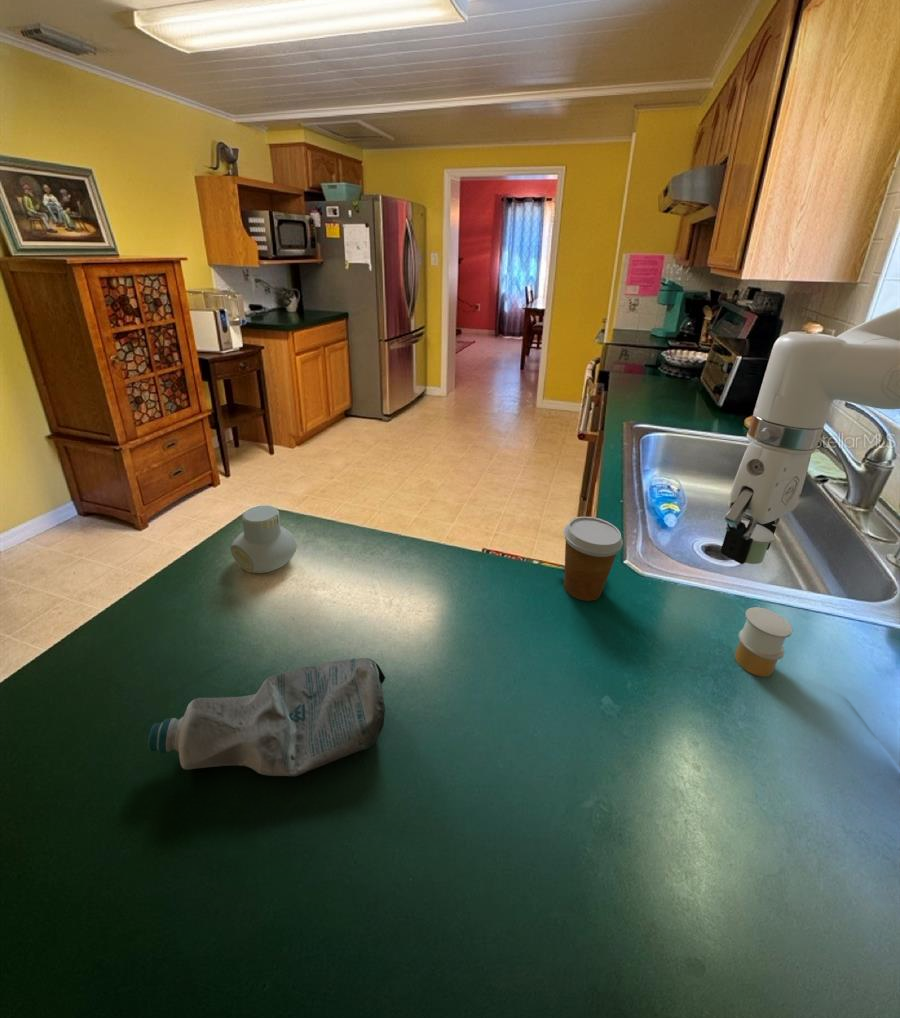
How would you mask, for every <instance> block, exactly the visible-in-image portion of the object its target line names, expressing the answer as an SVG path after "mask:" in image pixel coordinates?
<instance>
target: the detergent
mask: <svg viewBox="0 0 900 1018" xmlns="http://www.w3.org/2000/svg"><path fill="white" fill-rule="evenodd" d="M385 679H386V676H385V674H384V672H383V671H382V669H381V667H380V666H379V664H378V663H377V662H376V661H375V660H373V659H371V658H368V657H357V658H355V657H354V658H349V659H344V660H343V659H342V660H336V661H334V660H333V661H326V662H321V663H316V664H313V665H308V666H301V667H296V668H292V669H288V670H286V671H285V670H284V671H282V672H280V673H276V674H274V675H271V676H269V677H267V678H266V679H264V681H263V682H262V683H261V686H260V688H259V689H258V691H257V692H256V693H253V694H248V695H243V696H224V697H223V696H222V697H221V696H220V697H196V698H194V699H192V700H191V701H190V702H189V703H188V705H187V707H186V710H185V712H184V714H183V716H181V717H180V718H179V719H178V718H176V717H170V718H165V719H164V720H163V722H162V721H161V722H155V723H153V724H152V726H151V727H150V731H149V734H148V741H147V745H148V746H147V747H148V748H147V749H148V751H149V752H157V753H160V755H161V754H167V753H170V752H171V751H174V750H176V751H177V752H178V759H179V764H180V767H181V768H182V769H183V770H188V771H189V770H195V769H204V768H205V769H207V768H216V767H225V766H226V767H229V766H240V767H243V766H244V767H247V768H250V769H252V770H253V771H255V773H258V774H260V775H263V776H267V777H297V776H300V775H302V774H305V773H307V772H311V771H312V770H315V769H318V768H319V767H322V766H325V765H327V764H328V765H329V764H330V763H332V762H335V761H337V760H340V759H342V758H345V757H348V756H350V755H352V754H356V753H358V752H361V751H364V750H367V749H369V748H371V747H372V746H373V745H374V744H375V743H376V742H377V741H378V738H379V736H380V734H381V732H382V730H383V728H384V725H385V712H386V709H385V708H386V706H385V699H384V694H383V693H384V692H383V683H384V681H385Z"/></svg>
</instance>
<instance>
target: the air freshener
mask: <svg viewBox="0 0 900 1018" xmlns="http://www.w3.org/2000/svg"><path fill="white" fill-rule="evenodd" d="M241 518H242V528H243V531H242V532H241V533H239V534H238V536H237V537H235V539H233V541H232V543H231V546H230V553H231V555H232V557H233V559H234V561H235V563H237V565H239V567H241V569H243V570H244V571H245V572H248V573H250V574H252V573H253V574H263V573H269V572H273V571H276V570H279V569H280V568H282V567H283V566H285V565H286V564H288V563H290V561H291V560H292V558H293V557H294V555H295V554H296V551H297V548H298V544H297V541H296V539H295V537H294V535H293V534H292V533H291V532H290V531H289V530H288V529H287V528H285V527H284V526H282V525H281V517H280V511H279V509H278V508H276V507H275V506H272V505H265V504H264V505H257V506H253V507H251V508H249V509H247V510H245V512H244V513H243V514H242V516H241Z"/></svg>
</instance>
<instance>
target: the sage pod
mask: <svg viewBox="0 0 900 1018" xmlns="http://www.w3.org/2000/svg"><path fill="white" fill-rule="evenodd" d="M741 520H742V521H741V522H743V523H745V526H746V528H747V526H748V524H749V522H750V520H745V519H741ZM750 538H752V539H753V541H752V544H751V547H750V550H749V554H748V557H747V560H746V562H745V563H744V564H749V565H758V564H761V563H762V562H764V559H765V556H766V554H767V551H768V550H767V547H768V545H769V543H771V544H772V543H773V542H774V540H775V533H774V534H773V533H772V532H771V531H770V530H769V529H767V528H765V527H763V526H761V525H759V524H757V525H756V527H755V529H754V531H753V533H752V535H751V537H750Z"/></svg>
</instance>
